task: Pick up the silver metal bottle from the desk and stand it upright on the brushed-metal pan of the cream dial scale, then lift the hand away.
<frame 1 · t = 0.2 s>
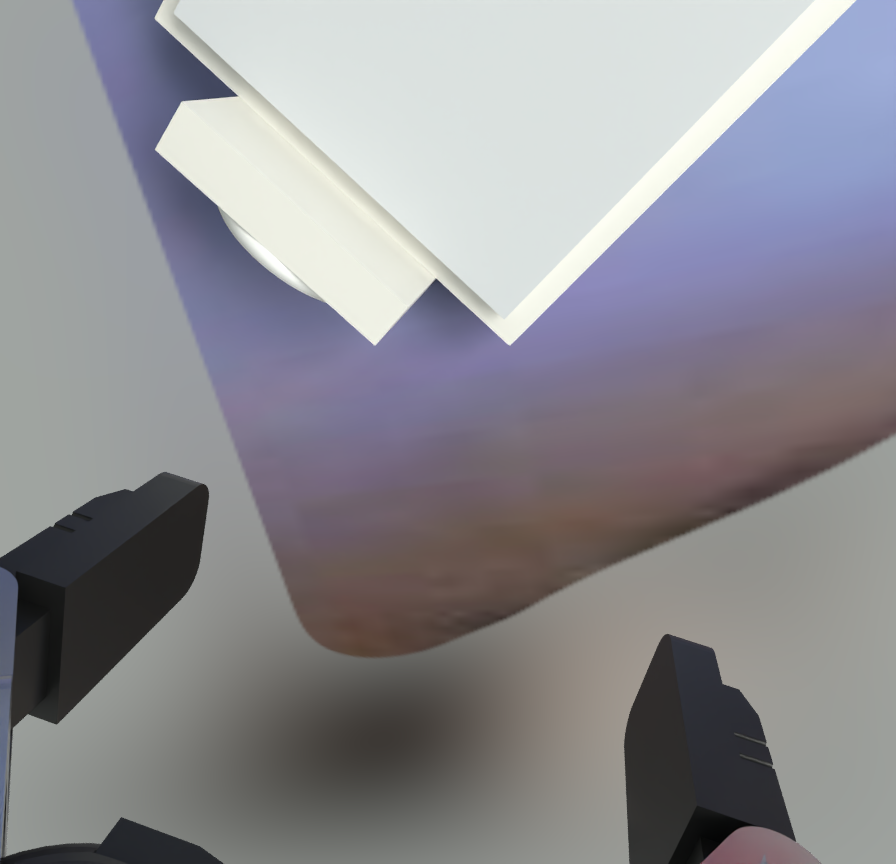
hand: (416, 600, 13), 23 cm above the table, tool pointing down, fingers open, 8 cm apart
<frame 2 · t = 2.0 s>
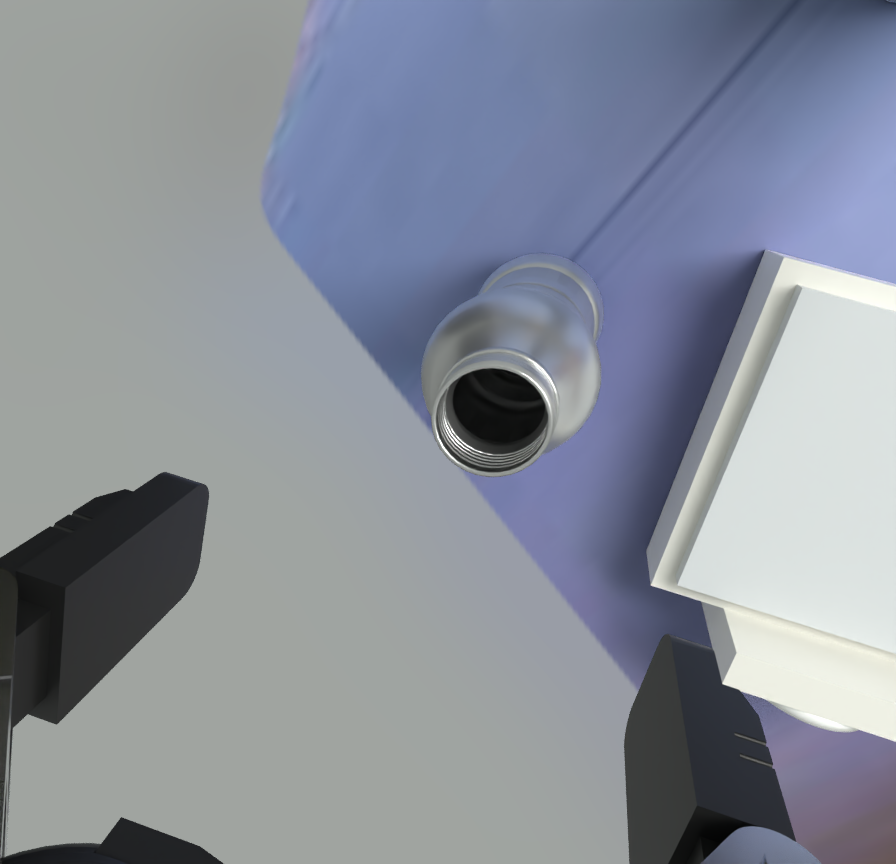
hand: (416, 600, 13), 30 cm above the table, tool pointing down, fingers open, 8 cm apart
silver metal bottle: (540, 308, 41), on the table
dial scale: (866, 460, 40), on the table
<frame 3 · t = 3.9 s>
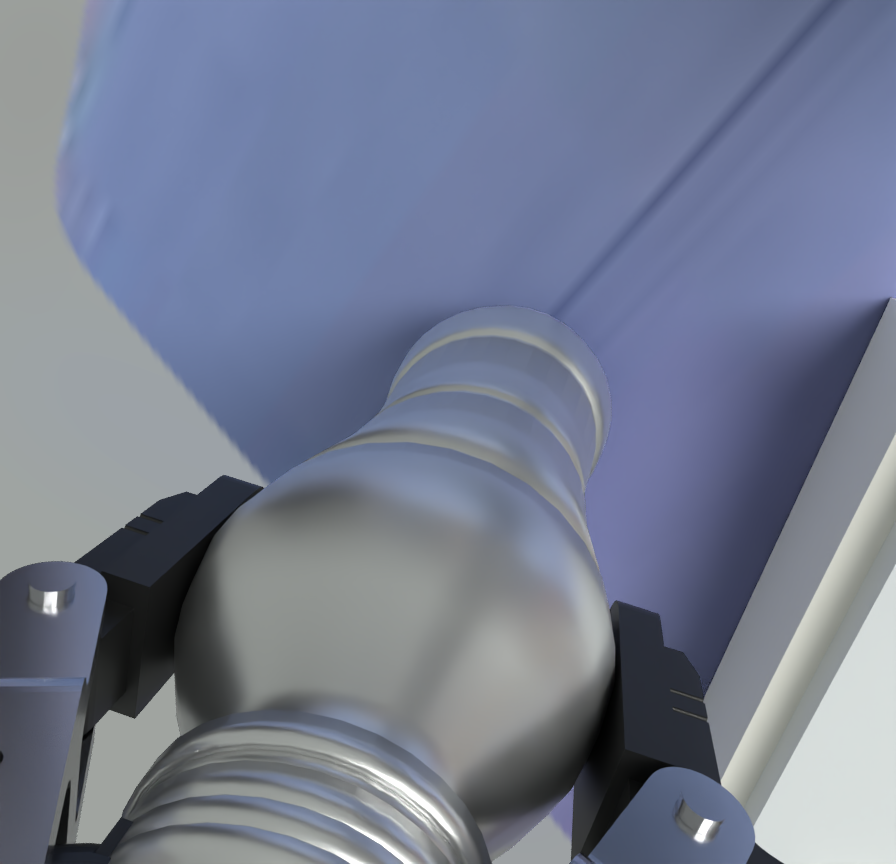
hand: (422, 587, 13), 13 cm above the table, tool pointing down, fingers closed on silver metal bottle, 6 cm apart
silver metal bottle: (507, 388, 25), on the table, touching gripper
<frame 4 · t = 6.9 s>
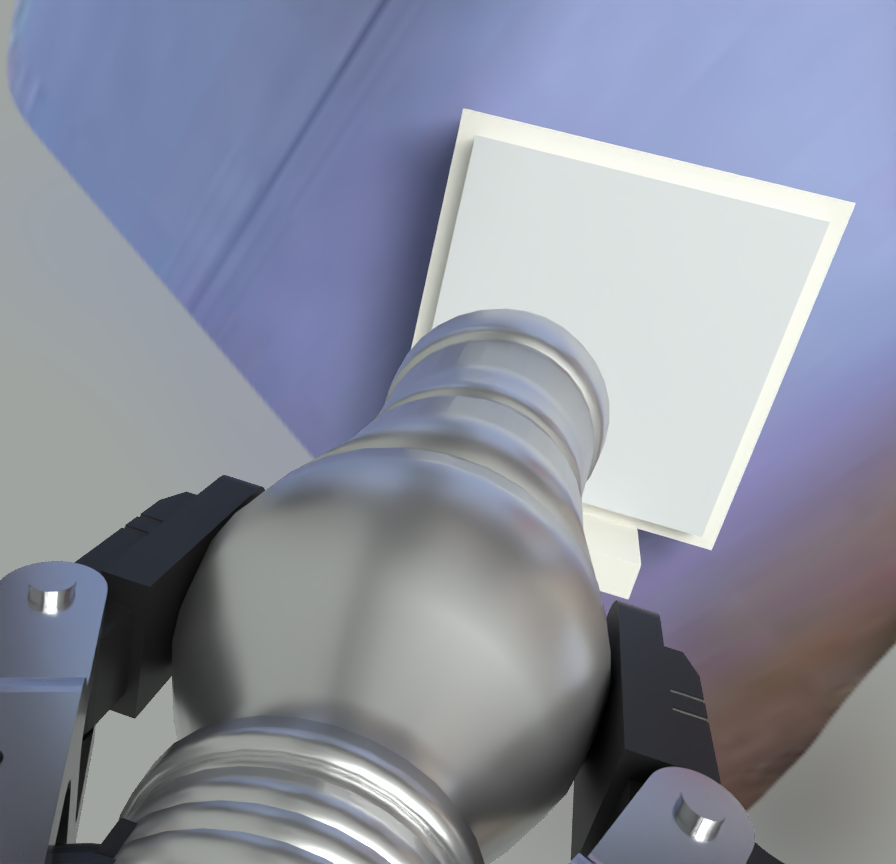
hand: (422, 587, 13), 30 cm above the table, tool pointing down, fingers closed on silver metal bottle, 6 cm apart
silver metal bottle: (506, 391, 25), point 17 cm above the table, touching gripper
dial scale: (595, 327, 40), on the table
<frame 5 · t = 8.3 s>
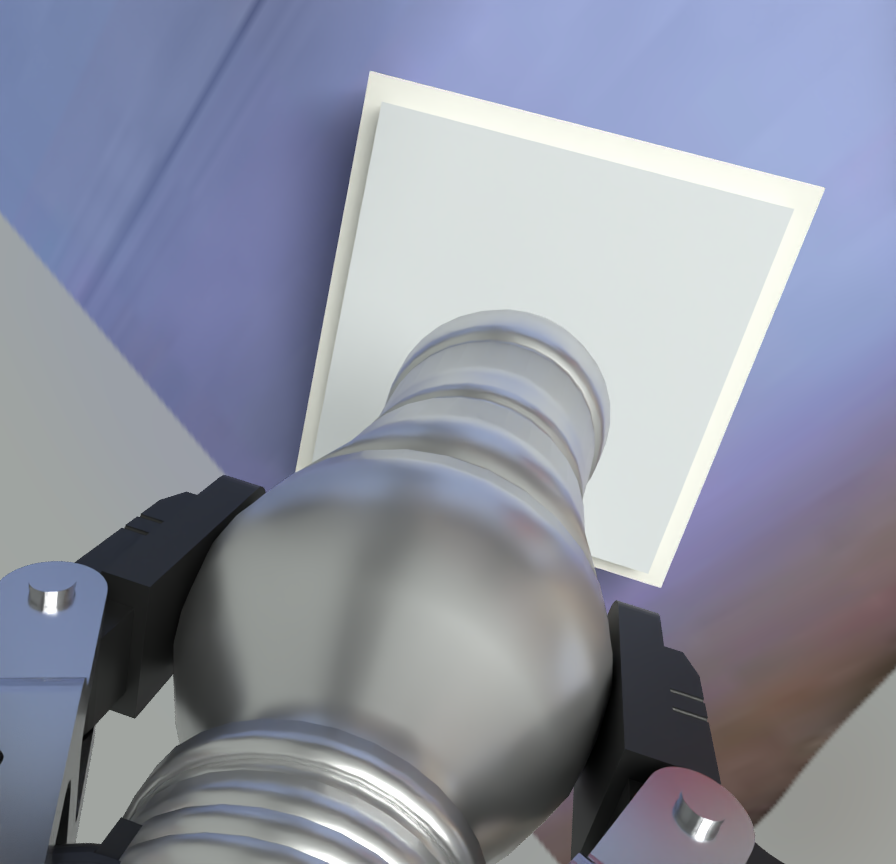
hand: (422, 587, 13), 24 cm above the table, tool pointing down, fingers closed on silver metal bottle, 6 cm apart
silver metal bottle: (506, 392, 25), point 11 cm above the table, touching gripper
dial scale: (533, 330, 35), on the table
when the fingers open (19 cm above the table, at t = 9.8 s): silver metal bottle drops 1 cm, resting on dial scale.
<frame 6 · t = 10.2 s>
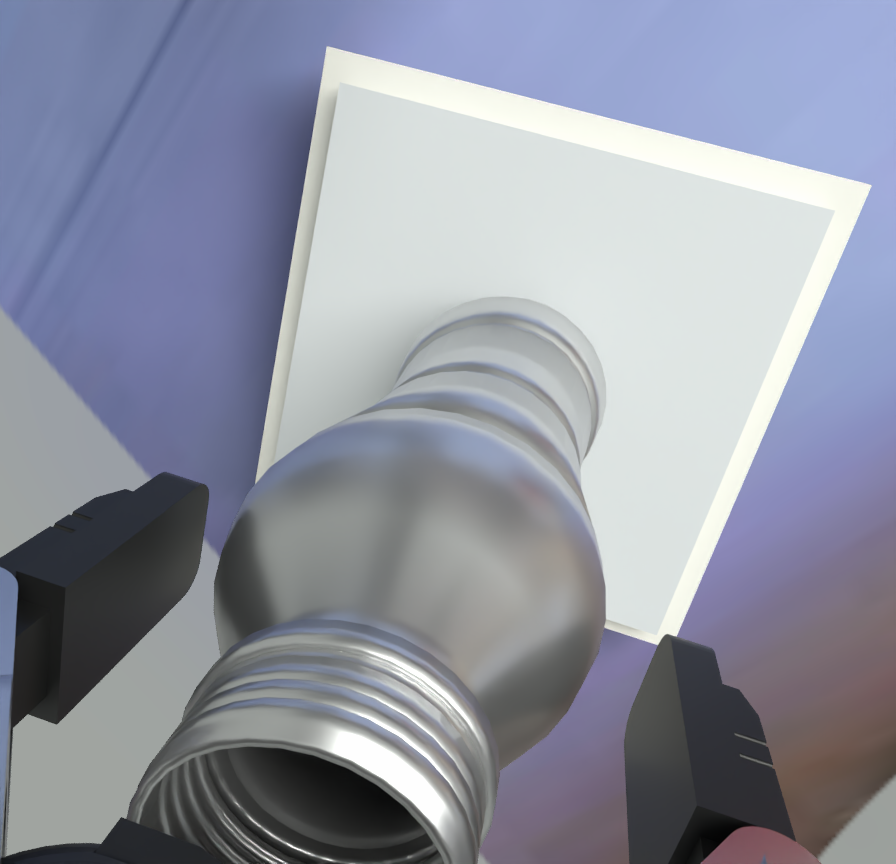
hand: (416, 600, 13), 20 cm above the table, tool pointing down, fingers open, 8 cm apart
silver metal bottle: (508, 376, 26), point 5 cm above the table, touching dial scale
dial scale: (524, 350, 31), on the table
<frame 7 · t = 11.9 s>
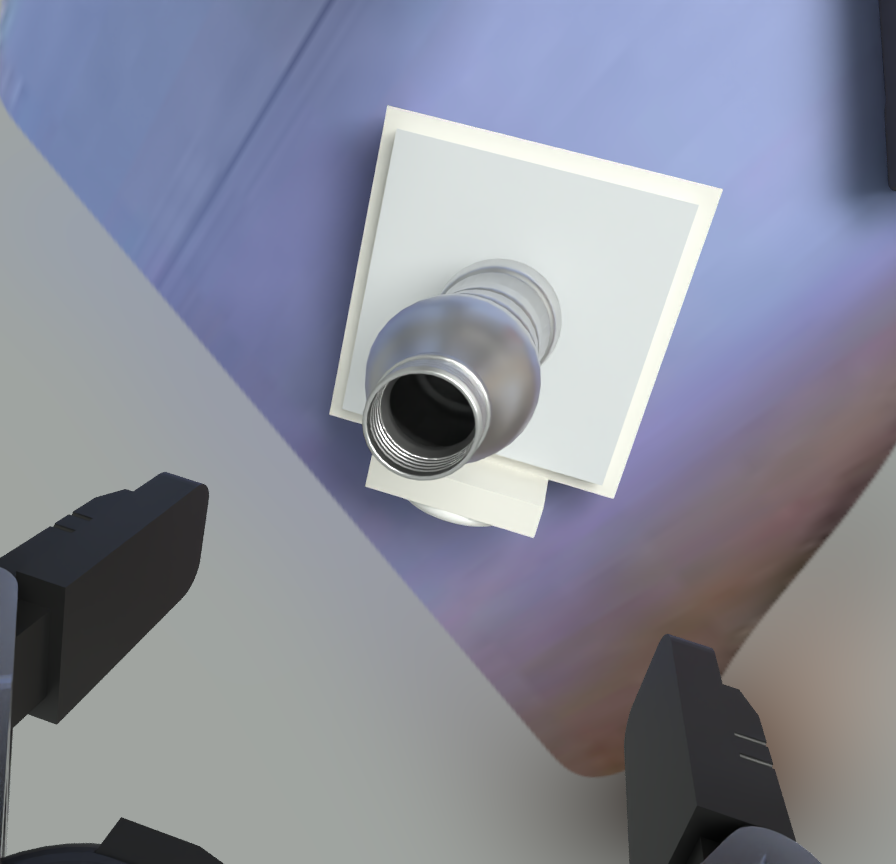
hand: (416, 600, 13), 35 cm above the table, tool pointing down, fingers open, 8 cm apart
silver metal bottle: (502, 313, 41), point 5 cm above the table, touching dial scale
dial scale: (514, 301, 45), on the table
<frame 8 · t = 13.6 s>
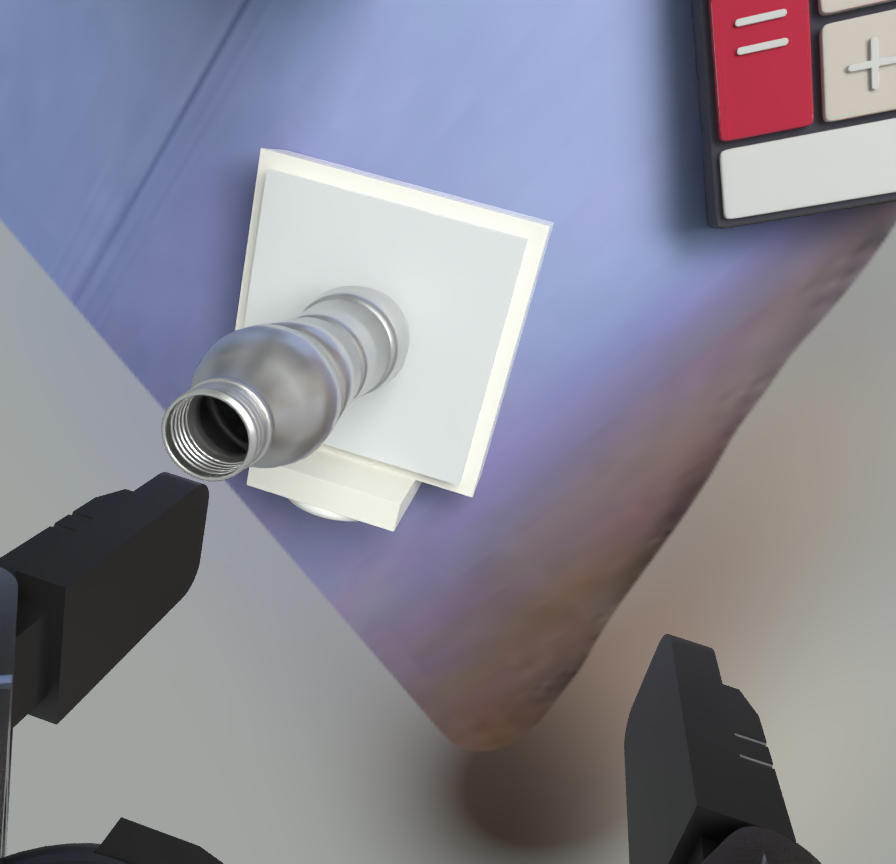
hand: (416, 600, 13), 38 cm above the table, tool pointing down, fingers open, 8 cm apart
calculator: (797, 76, 42), on the table
silver metal bottle: (366, 332, 46), point 5 cm above the table, touching dial scale
dial scale: (388, 320, 51), on the table
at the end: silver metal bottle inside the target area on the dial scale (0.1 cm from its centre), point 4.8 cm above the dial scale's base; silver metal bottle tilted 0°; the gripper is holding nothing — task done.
